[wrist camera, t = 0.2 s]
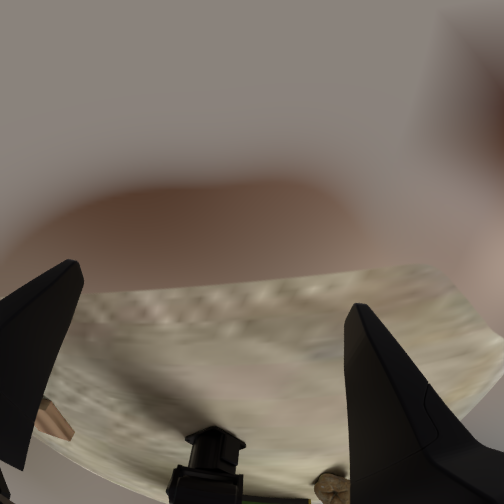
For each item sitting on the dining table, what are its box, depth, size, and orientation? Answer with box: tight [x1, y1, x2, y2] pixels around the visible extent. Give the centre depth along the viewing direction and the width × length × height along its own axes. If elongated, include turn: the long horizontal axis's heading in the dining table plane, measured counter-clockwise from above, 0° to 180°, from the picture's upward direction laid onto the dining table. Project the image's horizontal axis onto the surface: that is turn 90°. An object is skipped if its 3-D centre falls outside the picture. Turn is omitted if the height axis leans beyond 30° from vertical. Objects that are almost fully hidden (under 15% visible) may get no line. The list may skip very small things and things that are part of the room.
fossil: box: [314, 473, 350, 504], centre depth 39 cm, size 9×4×10 cm
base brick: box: [34, 399, 75, 441], centre depth 38 cm, size 9×9×2 cm
